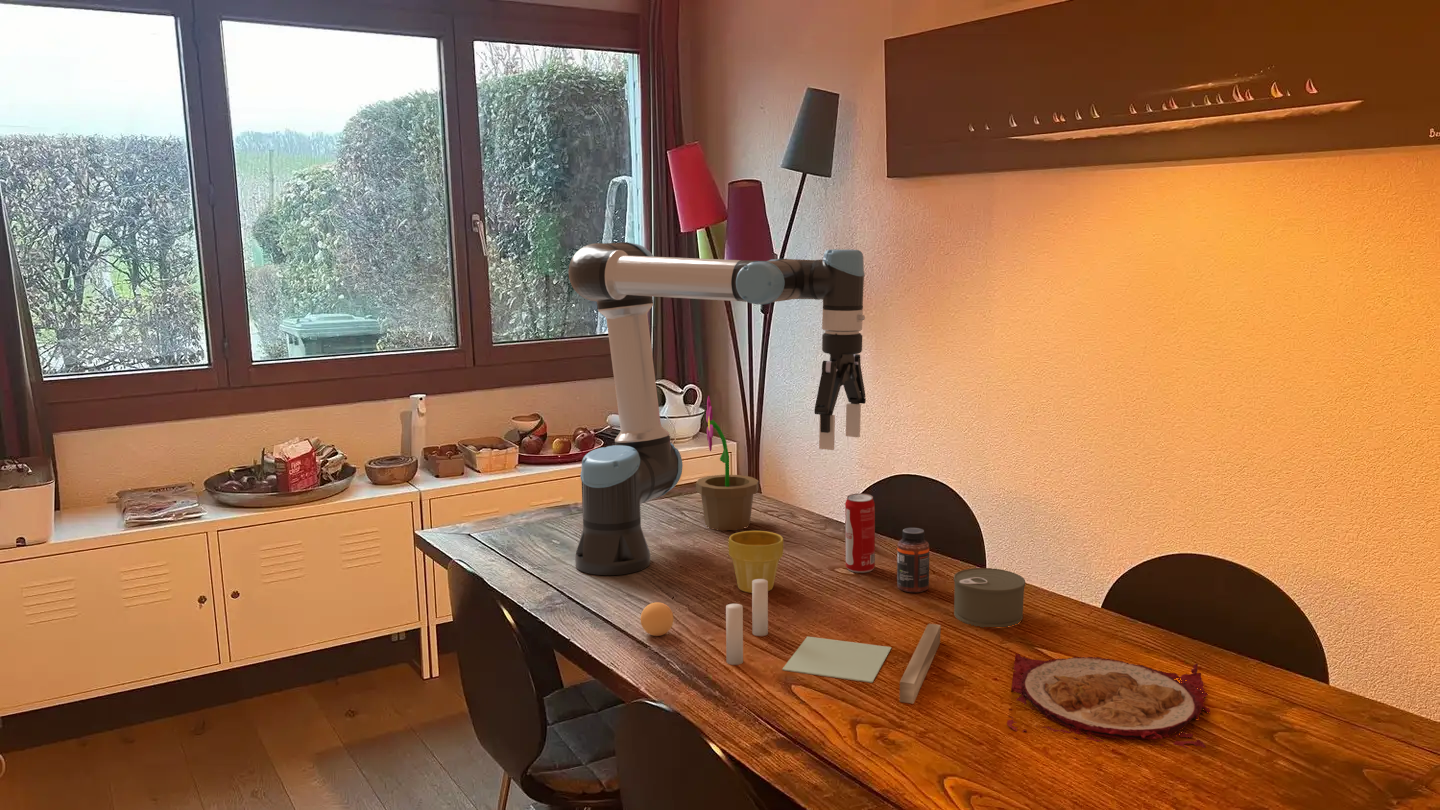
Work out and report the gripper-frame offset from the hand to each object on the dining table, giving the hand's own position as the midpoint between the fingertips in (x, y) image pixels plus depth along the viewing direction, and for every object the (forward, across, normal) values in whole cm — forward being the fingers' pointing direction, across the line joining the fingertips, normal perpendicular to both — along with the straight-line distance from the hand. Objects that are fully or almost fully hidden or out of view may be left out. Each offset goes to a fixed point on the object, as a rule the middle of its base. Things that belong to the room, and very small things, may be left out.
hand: (840, 442), depth 202 cm
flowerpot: (+27, +22, +36) cm, 50 cm away
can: (+26, -9, -32) cm, 42 cm away
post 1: (+26, -47, -1) cm, 54 cm away
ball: (+24, -43, +15) cm, 51 cm away
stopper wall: (+26, -37, -28) cm, 53 cm away
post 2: (+26, -34, 0) cm, 43 cm away
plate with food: (+27, -36, -56) cm, 72 cm away
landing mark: (+26, -39, -15) cm, 49 cm away
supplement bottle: (+26, -1, -16) cm, 31 cm away
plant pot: (+27, -14, +11) cm, 32 cm away
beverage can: (+26, +5, -3) cm, 27 cm away
